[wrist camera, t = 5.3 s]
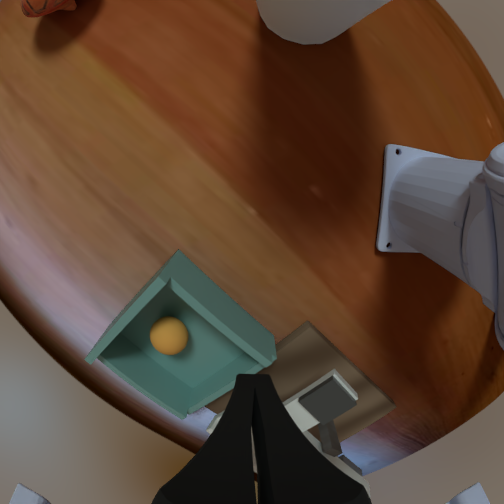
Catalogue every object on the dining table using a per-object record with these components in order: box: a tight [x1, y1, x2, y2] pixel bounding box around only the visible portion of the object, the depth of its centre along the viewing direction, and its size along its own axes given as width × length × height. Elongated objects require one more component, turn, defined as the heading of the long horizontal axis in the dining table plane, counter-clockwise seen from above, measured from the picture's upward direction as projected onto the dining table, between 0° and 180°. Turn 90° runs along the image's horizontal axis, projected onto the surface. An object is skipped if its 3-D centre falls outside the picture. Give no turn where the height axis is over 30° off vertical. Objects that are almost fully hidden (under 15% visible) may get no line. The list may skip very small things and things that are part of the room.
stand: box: [205, 321, 396, 457], centre depth 22 cm, size 17×13×8 cm
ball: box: [150, 316, 188, 355], centre depth 20 cm, size 3×3×3 cm
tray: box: [206, 369, 371, 497], centre depth 19 cm, size 16×11×5 cm, turn 44°
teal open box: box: [85, 249, 277, 419], centre depth 20 cm, size 10×10×5 cm
